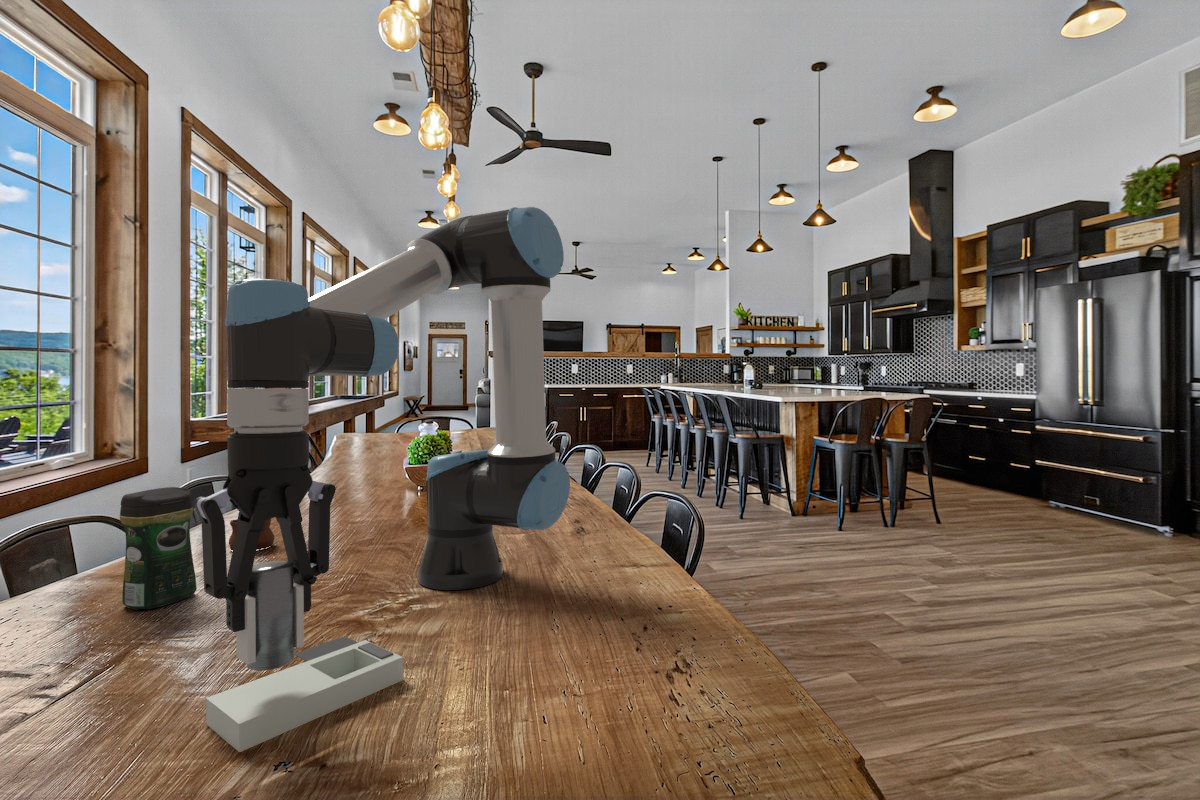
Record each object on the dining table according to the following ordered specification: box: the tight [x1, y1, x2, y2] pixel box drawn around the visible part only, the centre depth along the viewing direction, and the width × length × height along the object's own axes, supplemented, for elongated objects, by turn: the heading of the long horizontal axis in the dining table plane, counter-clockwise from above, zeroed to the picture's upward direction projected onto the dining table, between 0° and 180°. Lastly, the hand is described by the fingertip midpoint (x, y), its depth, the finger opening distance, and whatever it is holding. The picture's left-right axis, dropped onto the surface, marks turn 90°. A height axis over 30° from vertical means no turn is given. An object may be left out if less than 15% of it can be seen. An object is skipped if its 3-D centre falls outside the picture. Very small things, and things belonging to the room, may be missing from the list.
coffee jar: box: [119, 486, 197, 611], centre depth 100 cm, size 10×8×19 cm
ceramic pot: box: [228, 518, 275, 550], centre depth 133 cm, size 18×18×7 cm
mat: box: [294, 635, 359, 662], centre depth 80 cm, size 7×7×1 cm
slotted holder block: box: [205, 639, 404, 753], centre depth 68 cm, size 8×18×3 cm, turn 142°
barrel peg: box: [246, 560, 295, 672], centre depth 64 cm, size 4×4×10 cm
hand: (270, 650), depth 64 cm, fingers closed on barrel peg, 4 cm apart
